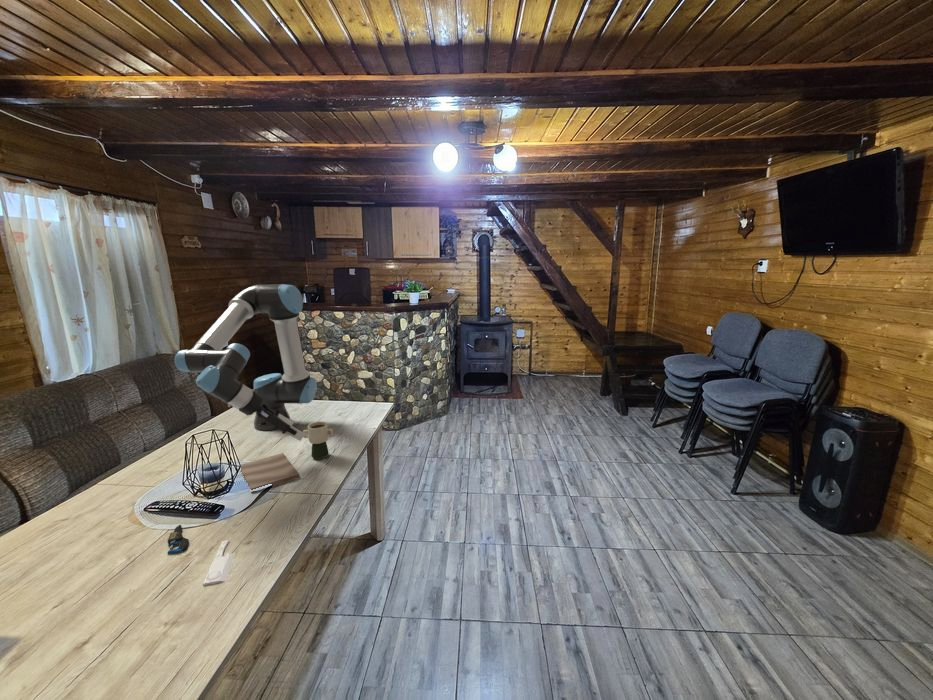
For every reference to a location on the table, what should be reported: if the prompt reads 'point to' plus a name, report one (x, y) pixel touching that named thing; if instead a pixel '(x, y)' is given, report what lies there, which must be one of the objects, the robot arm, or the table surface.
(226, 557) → the butcher knife
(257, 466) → the walnut board
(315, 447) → the character mug
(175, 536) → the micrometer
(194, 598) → the table surface
